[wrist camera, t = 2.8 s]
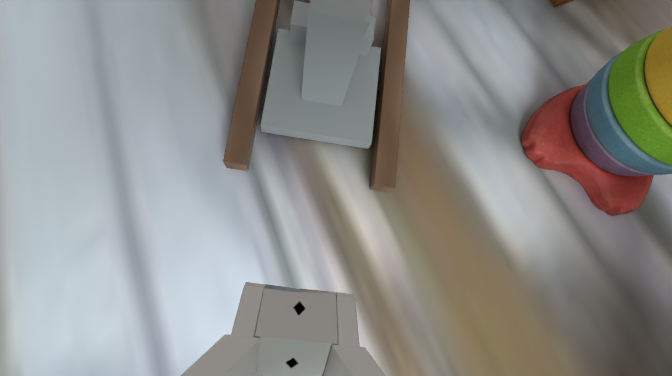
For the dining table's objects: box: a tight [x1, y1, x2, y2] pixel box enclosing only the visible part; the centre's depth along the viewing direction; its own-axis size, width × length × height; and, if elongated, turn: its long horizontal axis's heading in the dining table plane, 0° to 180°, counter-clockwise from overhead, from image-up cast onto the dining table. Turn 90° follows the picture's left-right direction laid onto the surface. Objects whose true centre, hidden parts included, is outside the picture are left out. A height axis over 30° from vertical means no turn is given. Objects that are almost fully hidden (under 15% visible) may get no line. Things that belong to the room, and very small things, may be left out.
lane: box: [223, 0, 410, 192], centre depth 28 cm, size 12×22×2 cm, turn 173°
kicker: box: [261, 0, 381, 149], centre depth 22 cm, size 8×9×10 cm
